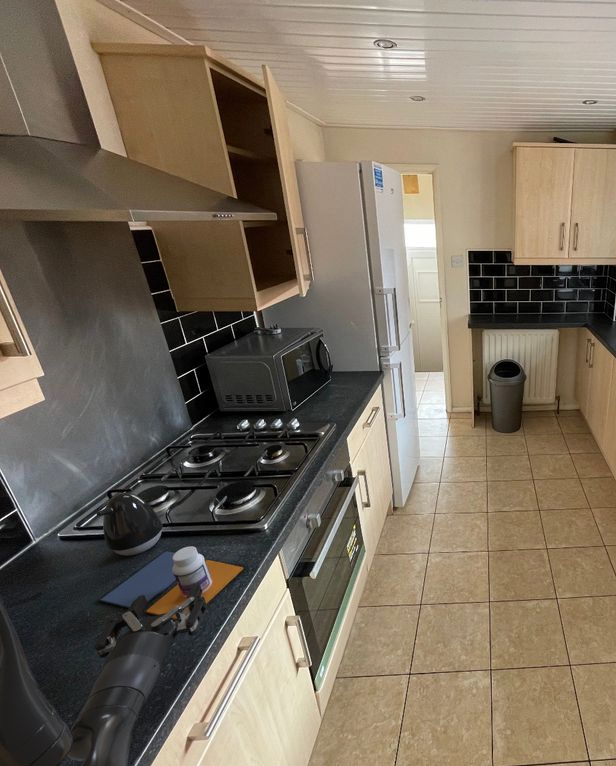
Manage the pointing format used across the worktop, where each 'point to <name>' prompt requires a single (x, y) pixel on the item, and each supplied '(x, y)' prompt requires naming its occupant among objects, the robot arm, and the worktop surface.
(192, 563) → the pill bottle
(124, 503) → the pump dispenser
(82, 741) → the robot arm
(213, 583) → the amber mat
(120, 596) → the slate mat
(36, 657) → the worktop surface
